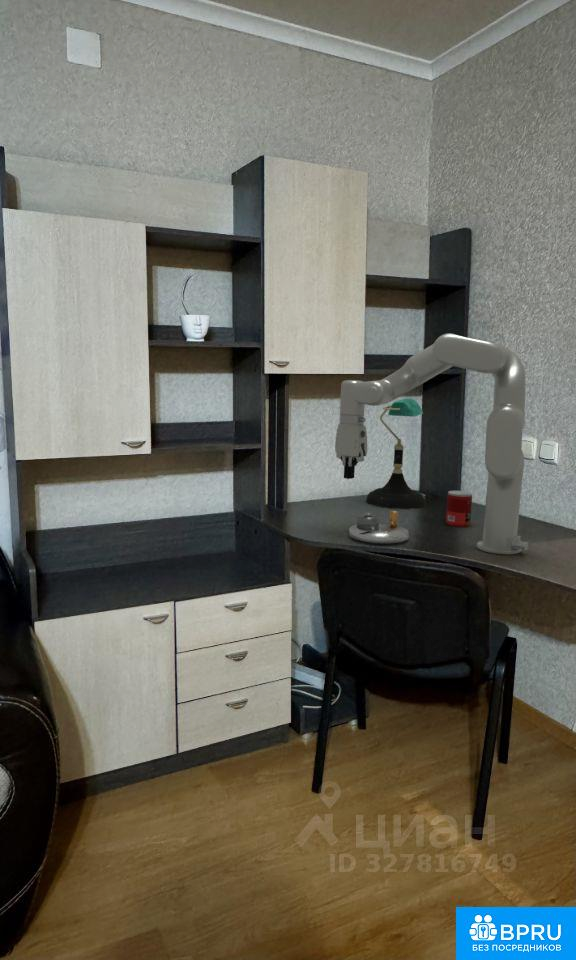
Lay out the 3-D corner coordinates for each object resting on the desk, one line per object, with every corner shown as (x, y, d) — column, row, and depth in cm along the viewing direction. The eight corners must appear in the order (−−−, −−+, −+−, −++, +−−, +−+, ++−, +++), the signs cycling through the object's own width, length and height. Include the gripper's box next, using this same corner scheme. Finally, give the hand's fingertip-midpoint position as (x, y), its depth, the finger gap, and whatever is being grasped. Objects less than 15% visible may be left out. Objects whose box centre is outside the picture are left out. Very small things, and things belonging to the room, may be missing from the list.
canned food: (470, 527, 231) (473, 495, 229) (446, 526, 232) (448, 493, 230) (469, 522, 238) (471, 491, 236) (445, 521, 240) (447, 489, 238)
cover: (383, 527, 216) (384, 513, 215) (368, 531, 211) (369, 516, 210) (366, 523, 221) (367, 509, 220) (351, 526, 216) (352, 512, 215)
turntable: (420, 537, 213) (421, 515, 211) (382, 546, 200) (383, 523, 199) (374, 526, 226) (375, 505, 224) (337, 534, 213) (337, 512, 212)
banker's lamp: (421, 512, 253) (427, 402, 247) (359, 506, 260) (364, 399, 254) (430, 499, 278) (436, 399, 271) (373, 494, 285) (378, 396, 279)
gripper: (377, 421, 214) (374, 480, 217) (342, 417, 225) (339, 473, 228) (361, 422, 209) (358, 482, 212) (326, 418, 219) (323, 475, 223)
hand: (348, 478), depth 220 cm, fingers closed
